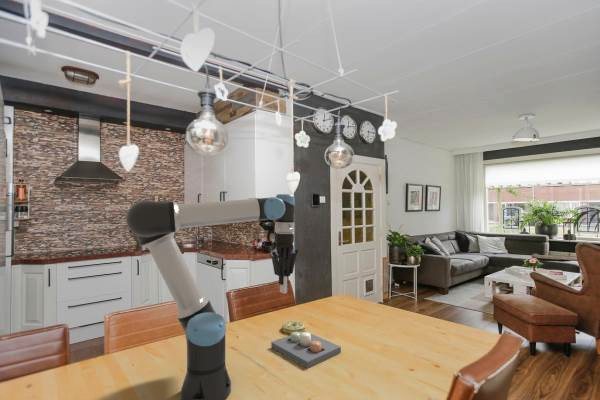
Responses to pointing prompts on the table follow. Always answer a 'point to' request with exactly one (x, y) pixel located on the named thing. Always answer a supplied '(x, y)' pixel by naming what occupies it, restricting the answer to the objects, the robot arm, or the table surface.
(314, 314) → the table surface
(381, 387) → the table surface
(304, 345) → the white egg
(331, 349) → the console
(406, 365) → the table surface
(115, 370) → the table surface
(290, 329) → the decorated donut
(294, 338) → the sage button
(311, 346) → the terracotta button
